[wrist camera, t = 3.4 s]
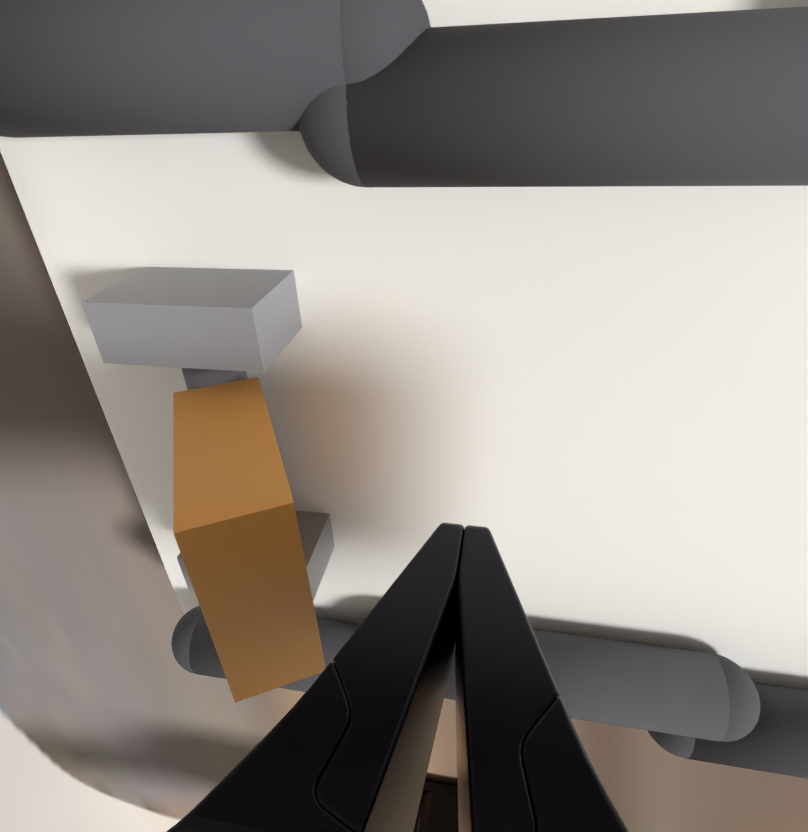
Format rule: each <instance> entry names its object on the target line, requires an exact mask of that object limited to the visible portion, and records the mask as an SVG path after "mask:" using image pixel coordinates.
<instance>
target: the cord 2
mask: <svg viewBox="0 0 808 832" xmlns="http://www.w3.org/2000/svg"><path fill="white" fill-rule="evenodd" d="M316 620H317V625H318V630H319V635H320V640H321V646H322V651H323V656H324V661H325V666H326V667H327V666H328V664H329V663H331V662H332V663H333V658H334V657H335V656H336V655H337V653H338V652H339V651H340V650H341V648H342V647H343V646H344V644H345V643H346V642H347V641H348V639H349V638H350V637H351V636H352V634H353V633H354V632H355V631H356V629H357V628H358V627H359V626H360V623H353V622H345V621H338V620H331V619H324V618H317V617H316ZM532 630H533V632H534V635H535V637H536V640H537V642H538V644H539V647H540V649H541V651H542V654H543V656H544V658H545V661H546V663H547V665H548V668H549V670H550V672H551V675H552V677H553V680H554V682H555V684H556V687H557V689H558V691H559V694H560V696H559V698H561V699H562V700H563V702H564V705H565V707H566V710H567V712H568V714H569V717H570V718H573V719H579V720H586V721H592V722H598V723H605V724H611V725H617V726H624V727H630V728H636V729H643V730H647V731H648V732H649V734H650V735H651V736H652V738H653V739H654V740H655V741H656V742H657V743H658V744H659V745H660V746H661V747H662V748H664V749H665V750H666V751H668V752H670V753H672V754H674V755H676V756H679V757H683V758H686V759H692V760H698V761H704V762H711V763H717V764H723V765H729V766H735V767H741V768H747V769H753V770H759V771H765V772H771V773H777V774H783V775H789V776H795V777H801V778H807V779H808V690H802V689H795V688H788V687H780V686H773V685H766V684H759V683H753V681H752V680H751V678H750V677H749V675H748V674H747V673H746V672H745V671H744V670H743V669H742V668H741V667H740V666H739V665H738V664H736V663H735V662H733V661H732V660H730V659H728V658H726V657H724V656H721V655H718V654H714V653H709V652H702V651H694V650H687V649H679V648H672V647H664V646H657V645H649V644H642V643H634V642H627V641H619V640H612V639H604V638H596V637H589V636H581V635H574V634H566V633H559V632H551V631H544V630H536V629H532ZM455 641H456V640H455ZM172 650H173V654H174V657H175V659H176V660H177V662H178V663H179V664H180V665H181V666H182V667H183V668H184V669H185V670H187V671H189V672H191V673H195V674H199V675H206V676H212V677H218V678H224V679H226V676H225V673H224V670H223V668H222V665H221V662H220V660H219V657H218V654H217V651H216V649H215V646H214V643H213V640H212V638H211V635H210V632H209V629H208V627H207V624H206V621H205V618H204V616H203V613H202V610H201V608H200V605H199V606H197V607H195V608H192V609H191V610H190V611H188V612H187V613H186V614H185V615H184V616H183V617H182V618H181V619H180V620H179V622H178V623H177V625H176V627H175V630H174V633H173V636H172ZM320 674H321V673H319V674H316V675H313V676H310V677H307V678H304V679H301V680H299V681H296V682H293V683H290V684H287V685H284V686H281V687H279V688H285V689H291V690H297V691H303V692H306V691H307V690H308V689H309V688H310V687H311V685H312V684H313V683H314V682H315V681H316V679H317V678H318V677H319V676H320ZM444 698H447V699H453V700H456V687H455V647H454V654H453V659H452V664H451V668H450V673H449V677H448V682H447V686H446V690H445V695H444Z"/></svg>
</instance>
